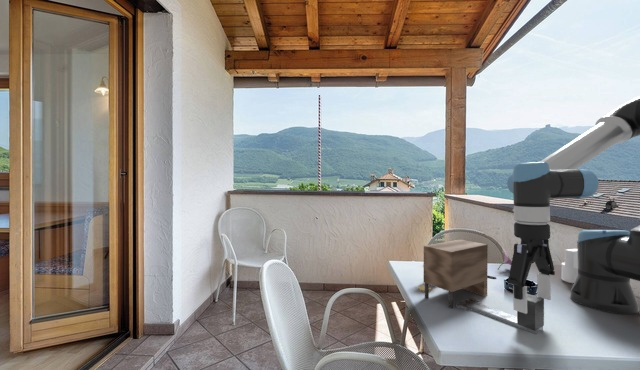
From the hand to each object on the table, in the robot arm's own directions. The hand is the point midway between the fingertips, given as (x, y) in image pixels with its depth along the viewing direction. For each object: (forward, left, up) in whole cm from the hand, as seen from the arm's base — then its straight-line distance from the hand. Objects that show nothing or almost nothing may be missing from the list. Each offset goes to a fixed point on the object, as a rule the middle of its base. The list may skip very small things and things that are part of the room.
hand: (532, 304), depth 75 cm
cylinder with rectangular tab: (+7, -56, -6) cm, 57 cm away
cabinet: (+23, -3, -6) cm, 24 cm away
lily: (+28, -48, -7) cm, 56 cm away
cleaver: (+39, -28, -7) cm, 49 cm away
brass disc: (+33, +1, -7) cm, 33 cm away
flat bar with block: (+8, 0, -6) cm, 10 cm away
